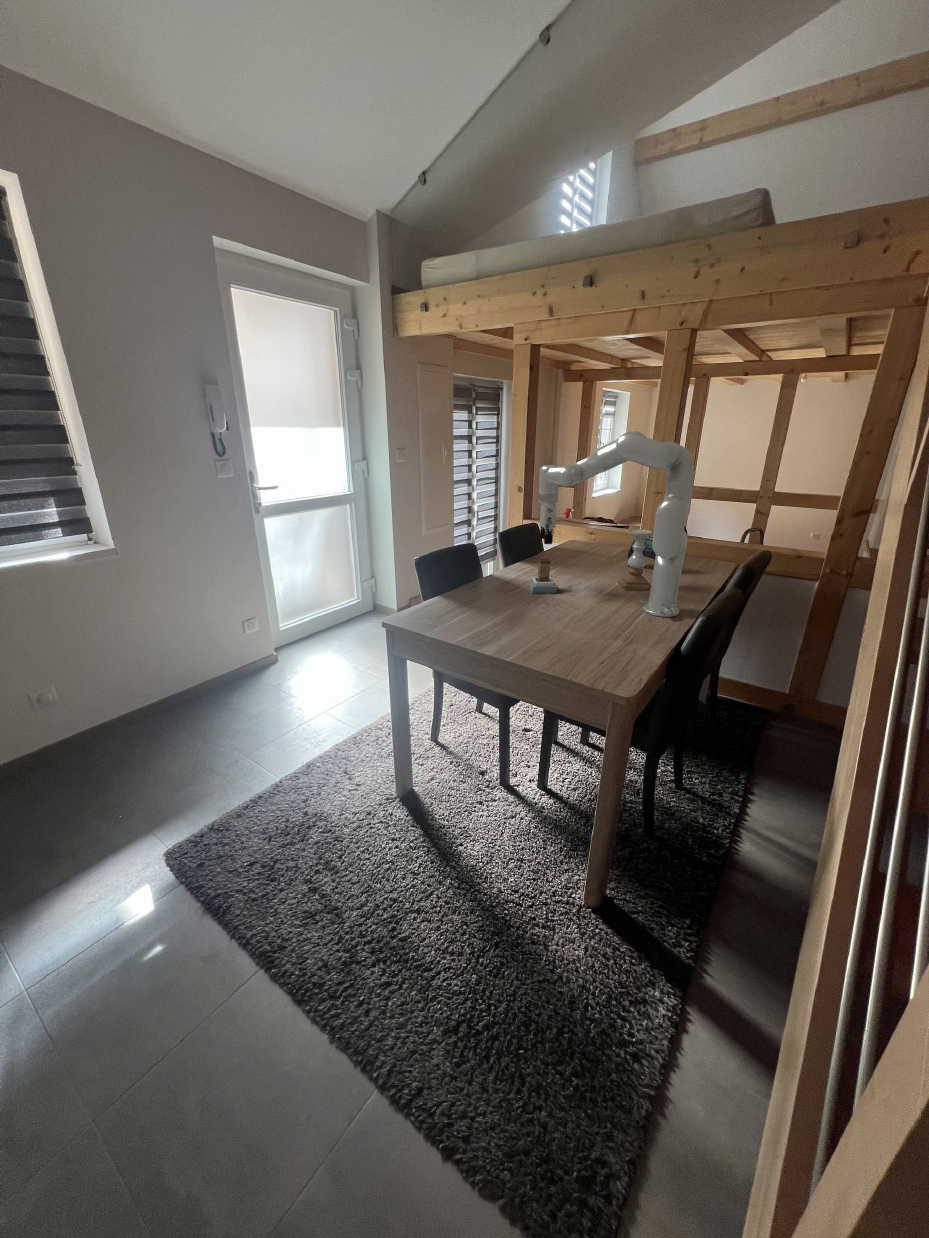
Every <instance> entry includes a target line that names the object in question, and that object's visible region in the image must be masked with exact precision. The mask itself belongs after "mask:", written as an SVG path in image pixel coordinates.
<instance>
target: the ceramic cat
mask: <svg viewBox="0 0 929 1238" xmlns="http://www.w3.org/2000/svg"><path fill="white" fill-rule="evenodd" d="M652 531H653V532H654V529H653V530H652ZM652 541H653V536H647V538H646V539H645V540H644V545H645V548H644V550H643V551H642V554H643V556H644V558H645V557H646V558H648V559H652V560H654V561H655V557H656V554H655V552H654V551H653V547H652ZM634 543H635V538H633V541H632V543H631V545H630V547H629V551H628V553H627V561H628V560H629V558H630V557H631V556H632V554H633V553H634V549H633V547H632V546H633V545H634ZM627 567H628V568H630V566H629V565H628V564H627Z"/></svg>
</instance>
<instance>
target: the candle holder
mask: <svg viewBox="0 0 929 1238" xmlns="http://www.w3.org/2000/svg"><path fill="white" fill-rule="evenodd" d="M653 532H654V531H653V530H650V529H644V528H631V529H628V530H627V534H628V535H631V536H633V539H635V540H634V541H635V543H634V545H633V546H632V547H633V549H634V553H633V554H632V556H631V557H630V558H629V560H628V559H627V566H628V565H629V566H630V567H628V570H627V572H628V574H626V575H621V576H620V577H619V578H617V579H618V580H617V584H618V585H619V586H620V587H621V589H622V590H623V591H650V589H651V585H650V584H649V581H648V579H646V578H645V577H644V576H643V573H644V569H643V568H645V567H646V565H647V564H646V563H647V561H646V559H645V556H643V554H642V551H643V550H644V548H645V545H644V540H645V539H646V538H647V537H649V536H650V537H653Z"/></svg>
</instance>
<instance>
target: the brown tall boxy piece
mask: <svg viewBox="0 0 929 1238" xmlns="http://www.w3.org/2000/svg"><path fill="white" fill-rule="evenodd" d="M550 570H551V560H550V559H549V558H538V568H537V571H538V572H537V577H538V582H549V577H550V575H551V574H550V572H551V571H550Z"/></svg>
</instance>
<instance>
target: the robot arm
mask: <svg viewBox="0 0 929 1238" xmlns="http://www.w3.org/2000/svg"><path fill="white" fill-rule="evenodd" d="M644 434H645V433H642V432H640V431H636V430H634V431H627V432H624V433H623V434H621V435H620V436H619V437H618V438H616V439H615V440H613V441H610V442H609V443H607V444H605V445H603V446H600V447H598V448H597V449H596V450H594V452H593V453H592V454H591V455H589V456H587V457H585V458H584V459H581V460H579V461H577V462H575V463H573V464H572V463H571V464H568V465H563V466H559V465H554V464H545V465H542V466H541V467H540V469H539V481H538V483H539V485H538V499H537V501H538V503H540V510H539V511H540V512H539V524H540V529H539V531H540V532H539V539H540V540H543V544H544V545H552V544H553V537H554V536H553V535H554V534H553V533H554V532H553V531H554V530H553V529H555V528H556V526H557V503H558V502H559V501H558V500H559V489H560V488H559V487H564V488H565V487H571V486H574V485H577V484H579V483H582V482H583V481H586V480H588V479H591V478H593V477H596V476H597V475H599V474H601V473H605V472H607V471H609V470H611V469H613V468H616V467H617V466H620V465H622V464H624V463H626V462H629V461H630V462H632V463H635V464H638V465H641V466H643V467H644V466H645V467H647V468H649V469H653V470H657V471H663V470H666V471H667V477H666V479H665V491H664V497H663V500H662V501H661V502H660V503H659V505H658V507H657V508H656V511H655V516H654V524H653V530H654V531H653V535H652V537H653V541H652V547H653V551H654V552H655V554H656V557H655V560H654V564H653V571H652V575H651V576H652V577H651V583H650V584H651V585H650V590H649V597H648V603H645V604H644V605H643V607H642V608H643V609H642V610H643V611H644V612H645V613H647V614H650V615H653V616H655V617H661V618H662V617H665V618H671V617H676V616H678V615H679V614H680V609H679V607H677V600H678V596H679V591H680V590H679V589H680V583H681V579H682V577H681V576H682V572H683V566H684V561H685V560H684V559H685V557H686V551H687V549H688V548H687V547H688V543H689V542H688V541H689V540H688V535H687V532H686V531H685V528H686V527H685V525H686V519H687V518H688V517H689V515H690V512H691V505H692V503H691V502H692V495H693V485H694V475H695V464H694V459H693V457H692V455H691V453H690V452H689V450H688V449H687V448H686V447H684V446H683V445H681V444H680V443H677V442H674V441H664V442H662V441H659V440H656V439H653V438H649V437H646V435H644Z"/></svg>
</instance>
